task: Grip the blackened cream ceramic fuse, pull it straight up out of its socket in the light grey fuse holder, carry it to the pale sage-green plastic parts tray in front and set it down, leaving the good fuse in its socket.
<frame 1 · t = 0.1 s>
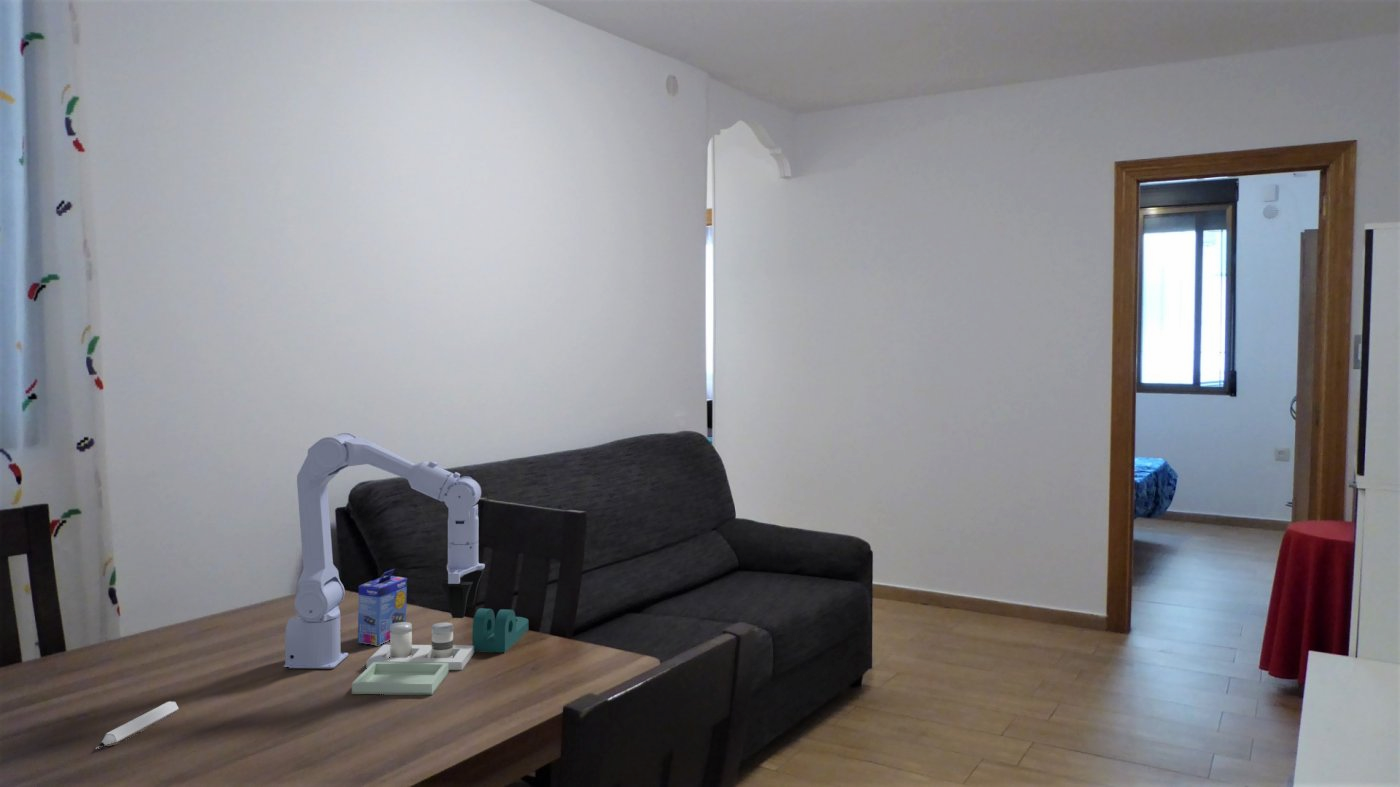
hand: (463, 611, 182), 10 cm above the table, tool pointing down, fingers open, 7 cm apart
parts tray: (401, 683, 171), on the table
bracket: (503, 640, 198), on the table
ink cartridge box: (382, 639, 197), on the table
blown fuse: (442, 661, 183), resting in fuse holder
marker: (135, 734, 149), on the table
fuse holder: (421, 660, 183), on the table
good fuse: (401, 660, 183), resting in fuse holder
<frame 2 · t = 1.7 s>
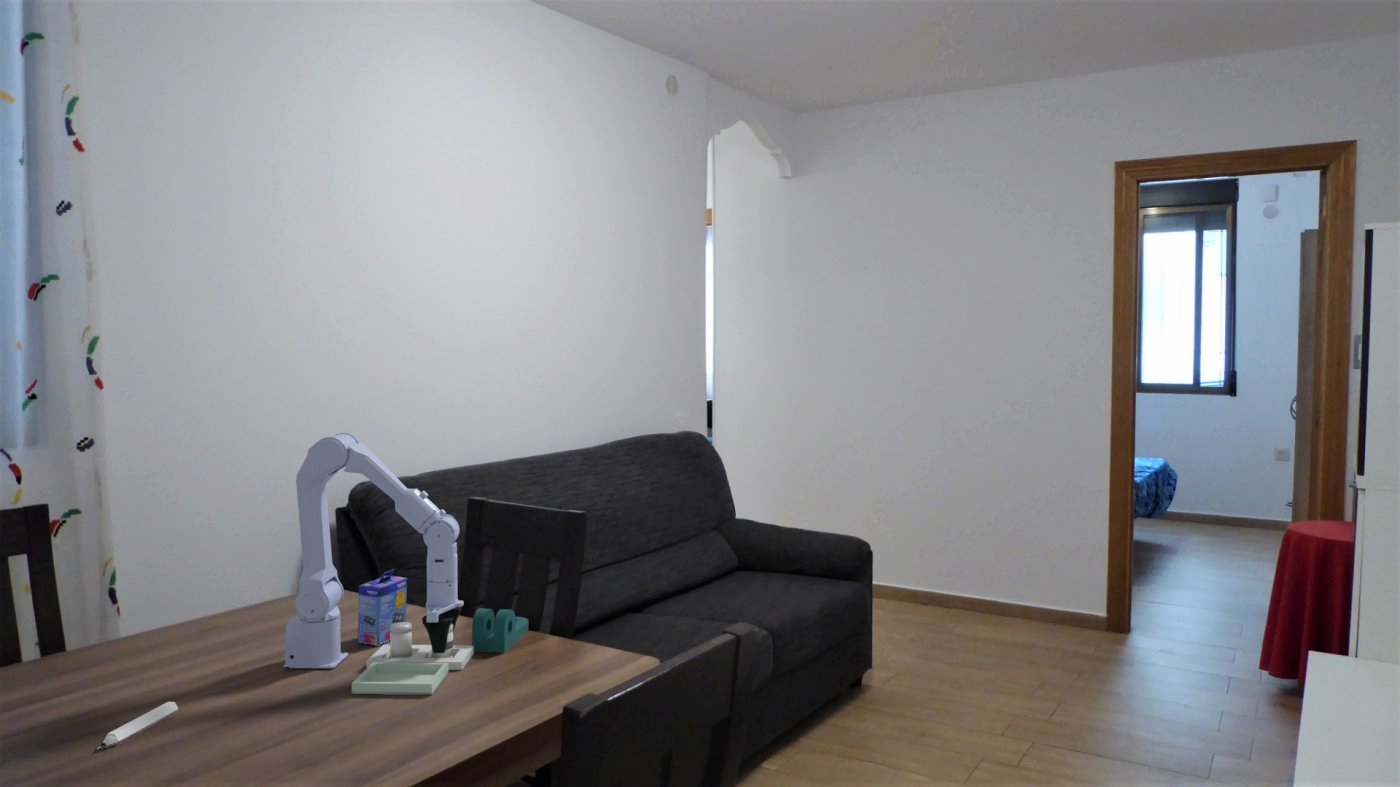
hand: (442, 648, 183), 2 cm above the table, tool pointing down, fingers closed on blown fuse, 4 cm apart
blown fuse: (442, 661, 183), resting in fuse holder, touching gripper
everything else where it was.
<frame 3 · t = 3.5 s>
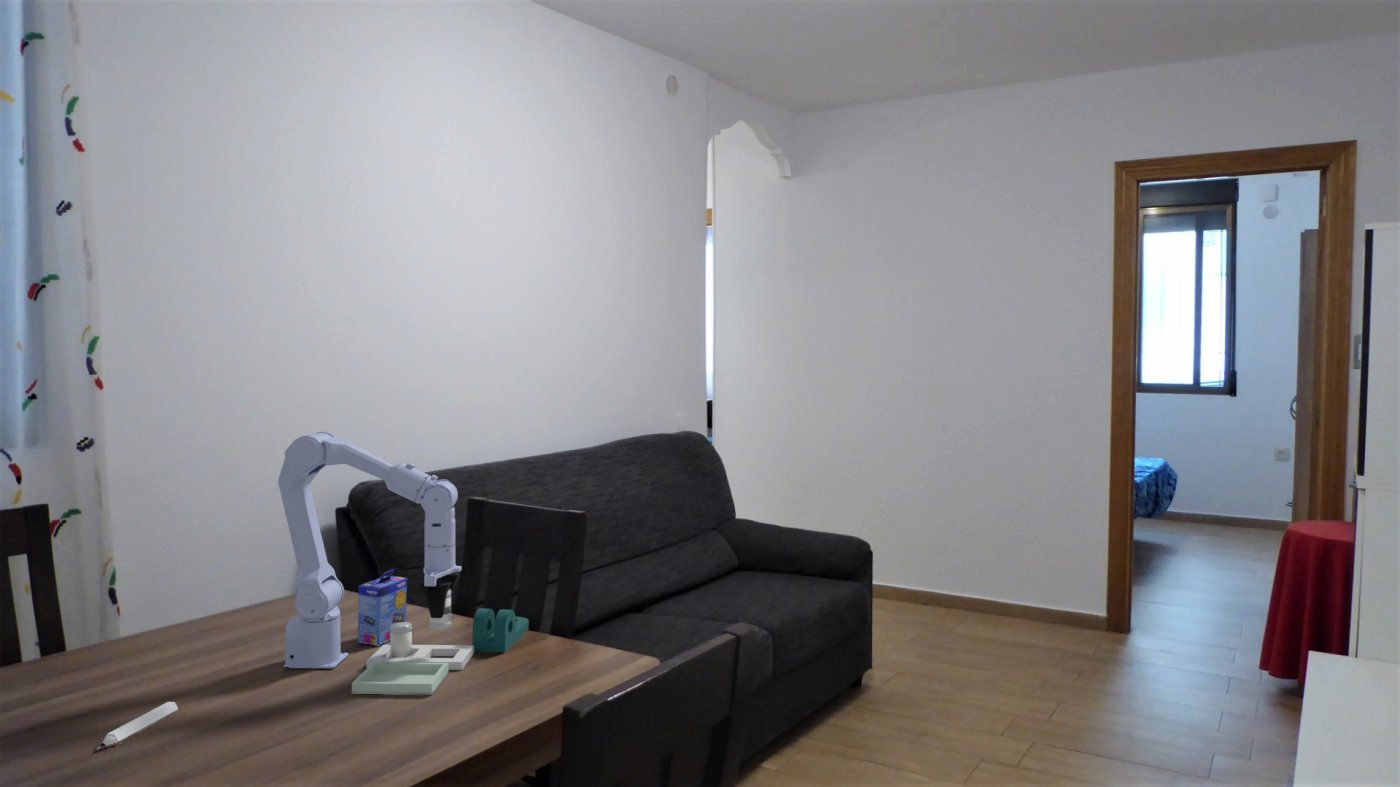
hand: (440, 614, 182), 9 cm above the table, tool pointing down, fingers closed on blown fuse, 4 cm apart
blown fuse: (440, 626, 182), point 7 cm above the table, touching gripper
everything else where it was.
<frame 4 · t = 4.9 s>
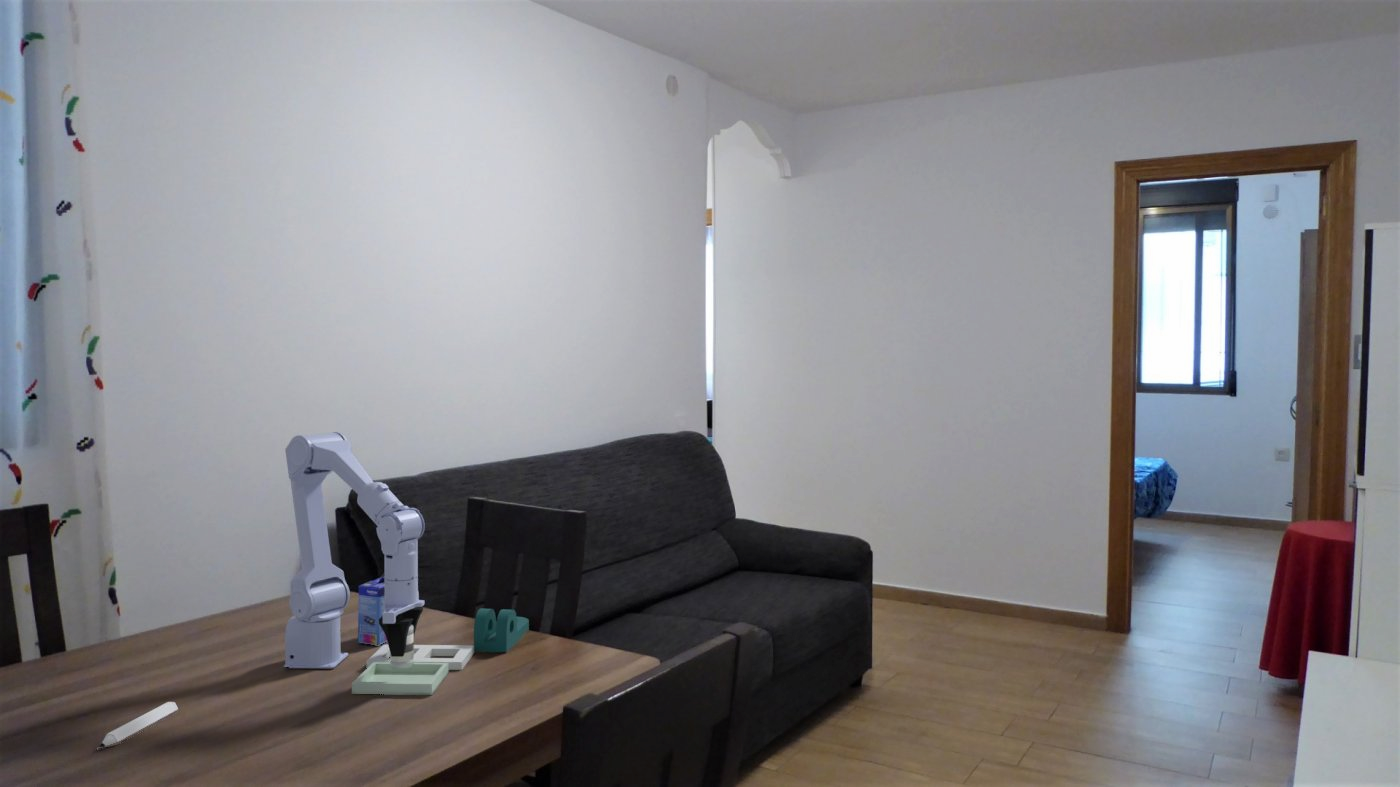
hand: (401, 651, 171), 6 cm above the table, tool pointing down, fingers closed on blown fuse, 4 cm apart
blown fuse: (402, 665, 171), point 3 cm above the table, touching gripper
everything else where it was.
when the fingers open (4 cm above the table, at t = 5.6 s): blown fuse drops 2 cm, resting on parts tray.
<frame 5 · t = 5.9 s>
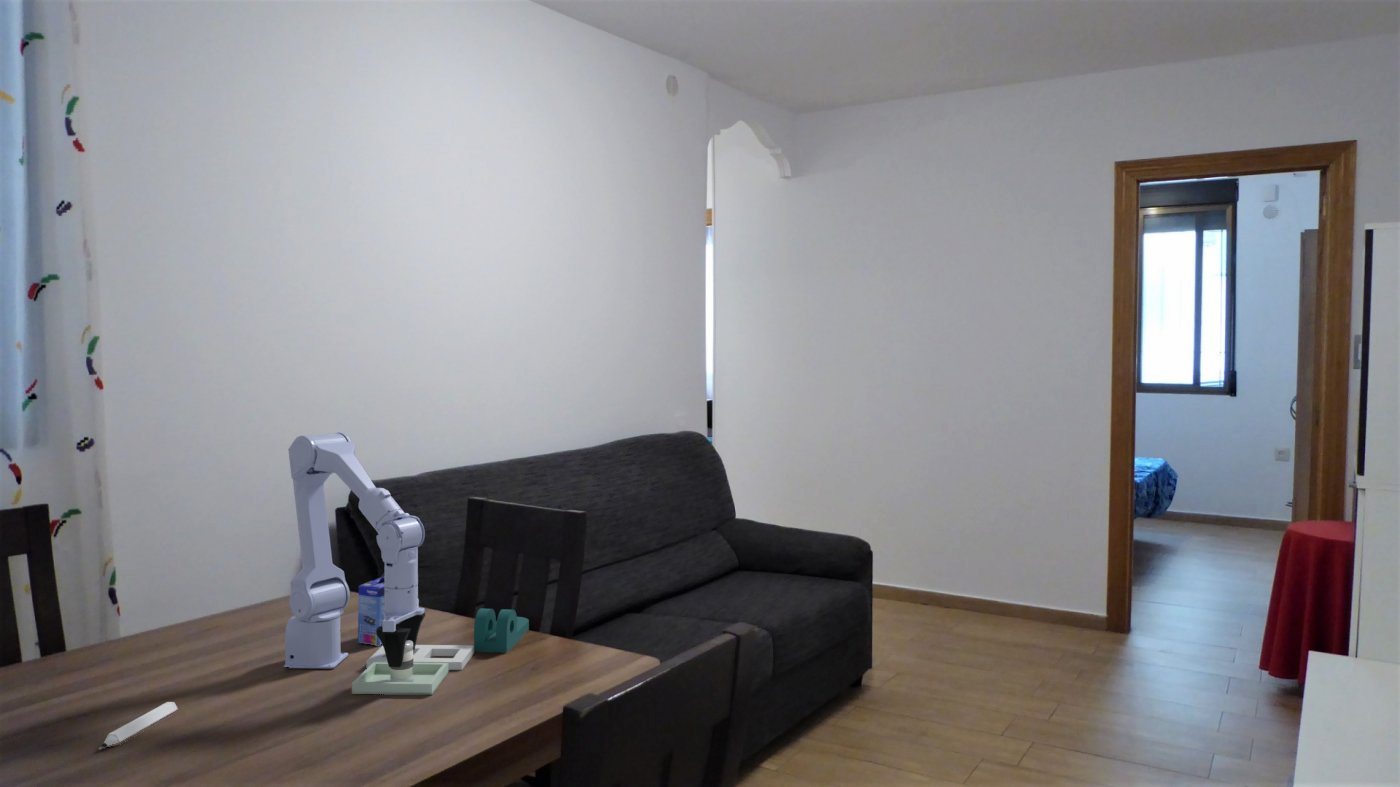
hand: (401, 659, 171), 4 cm above the table, tool pointing down, fingers open, 7 cm apart
blown fuse: (401, 681, 171), resting on parts tray
everything else where it was.
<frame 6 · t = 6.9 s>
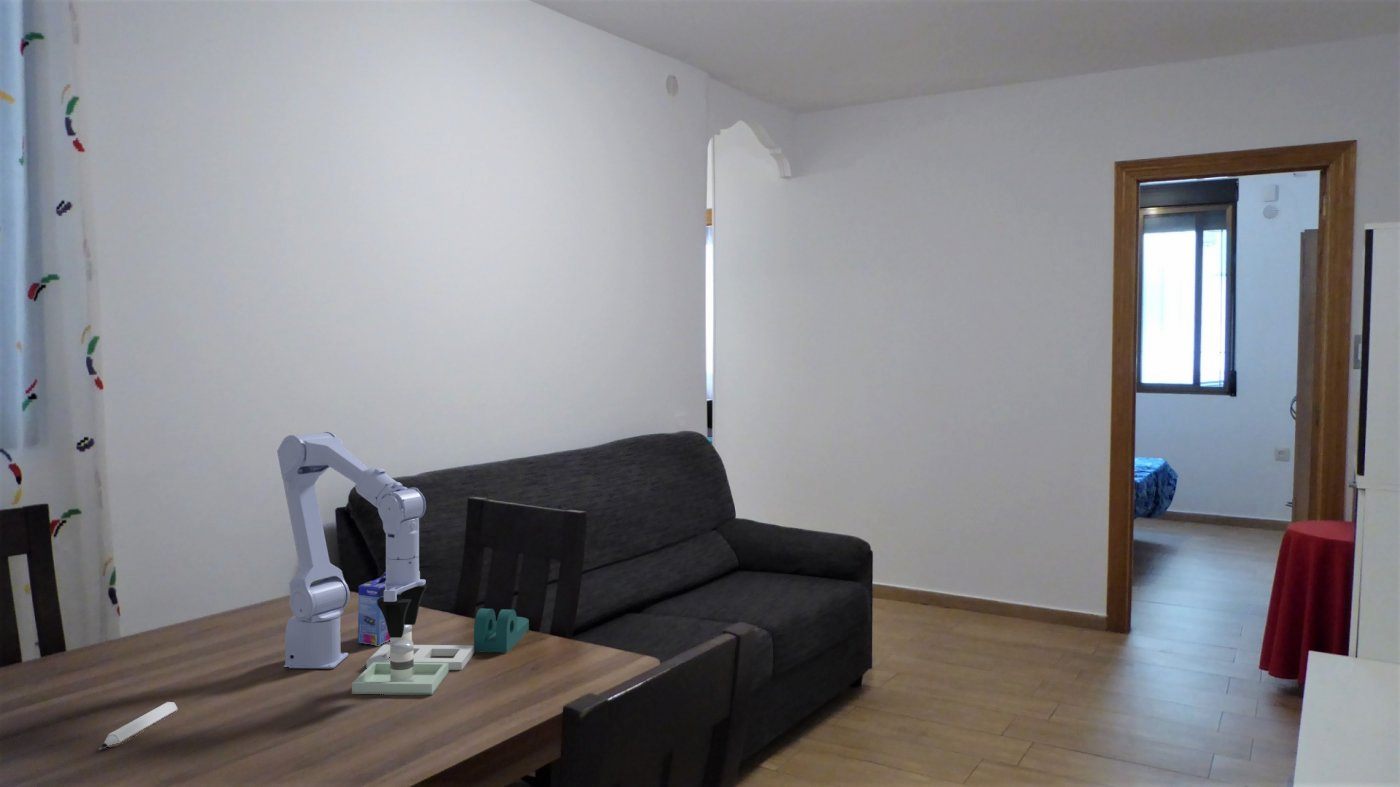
hand: (402, 630, 171), 9 cm above the table, tool pointing down, fingers open, 7 cm apart
nothing on the table moved.
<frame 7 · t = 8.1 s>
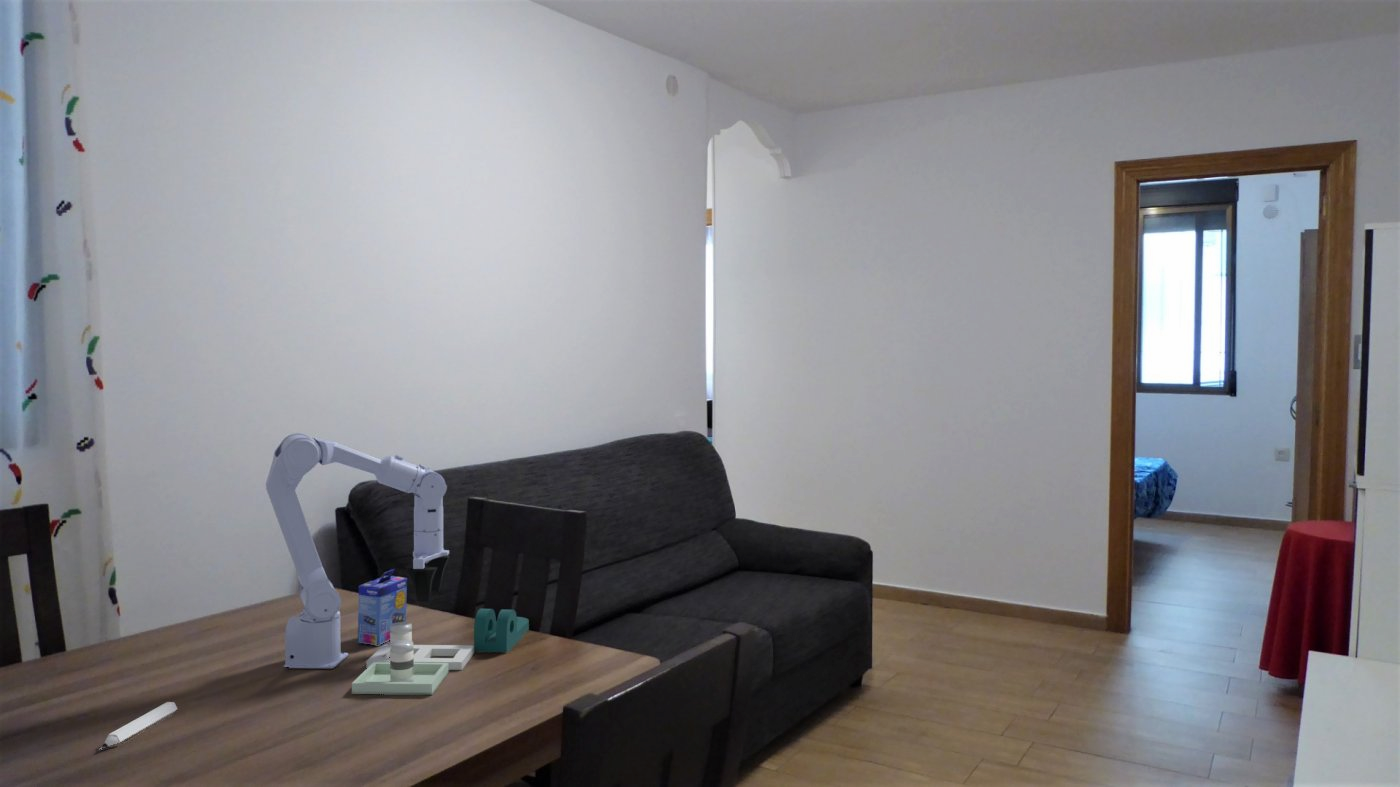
hand: (428, 596, 191), 10 cm above the table, tool pointing down, fingers open, 7 cm apart
nothing on the table moved.
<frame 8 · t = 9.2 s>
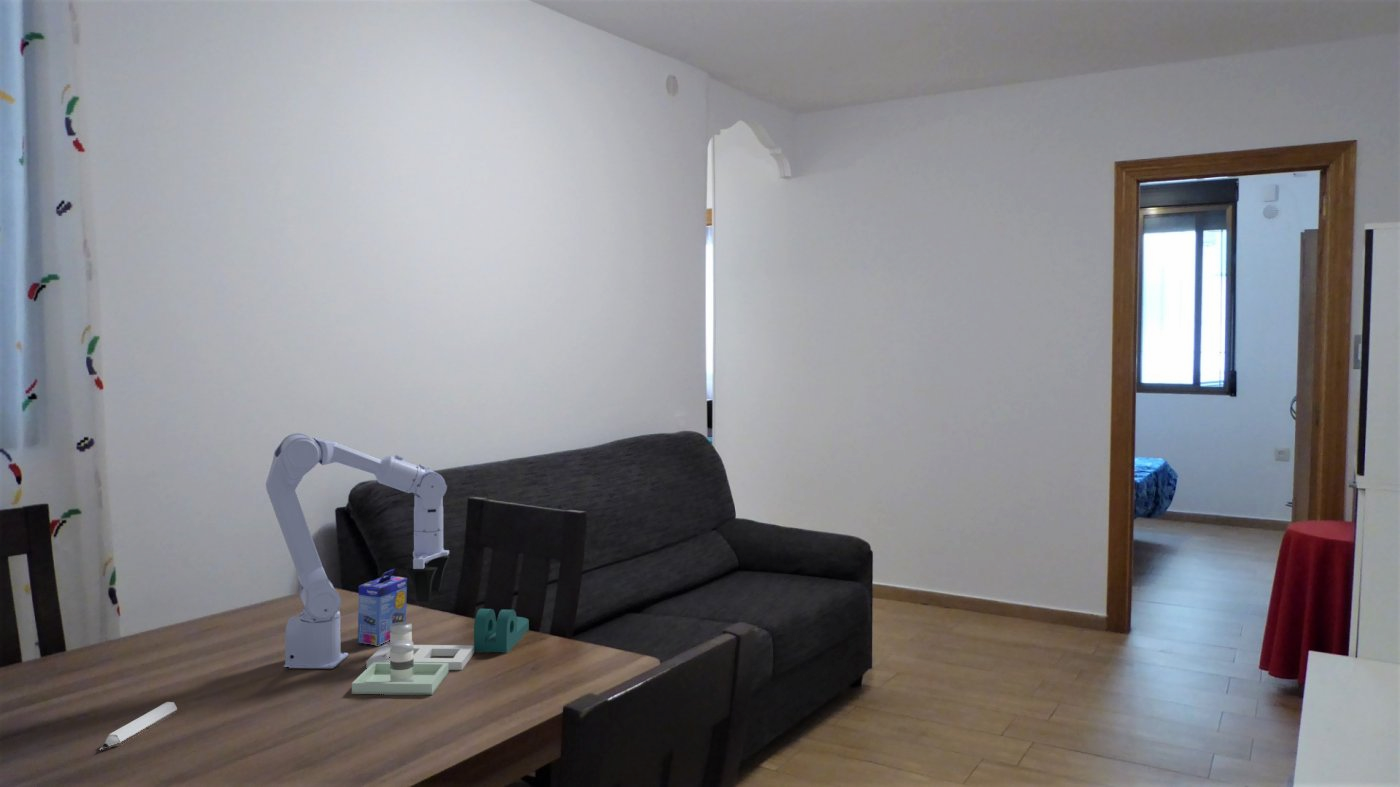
hand: (428, 596, 191), 10 cm above the table, tool pointing down, fingers open, 7 cm apart
nothing on the table moved.
at the end: blown fuse inside the target area on the parts tray (0.1 cm from its centre), point 0.4 cm above the parts tray's base; the gripper is holding nothing; good fuse moved 0.0 cm from its start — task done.
